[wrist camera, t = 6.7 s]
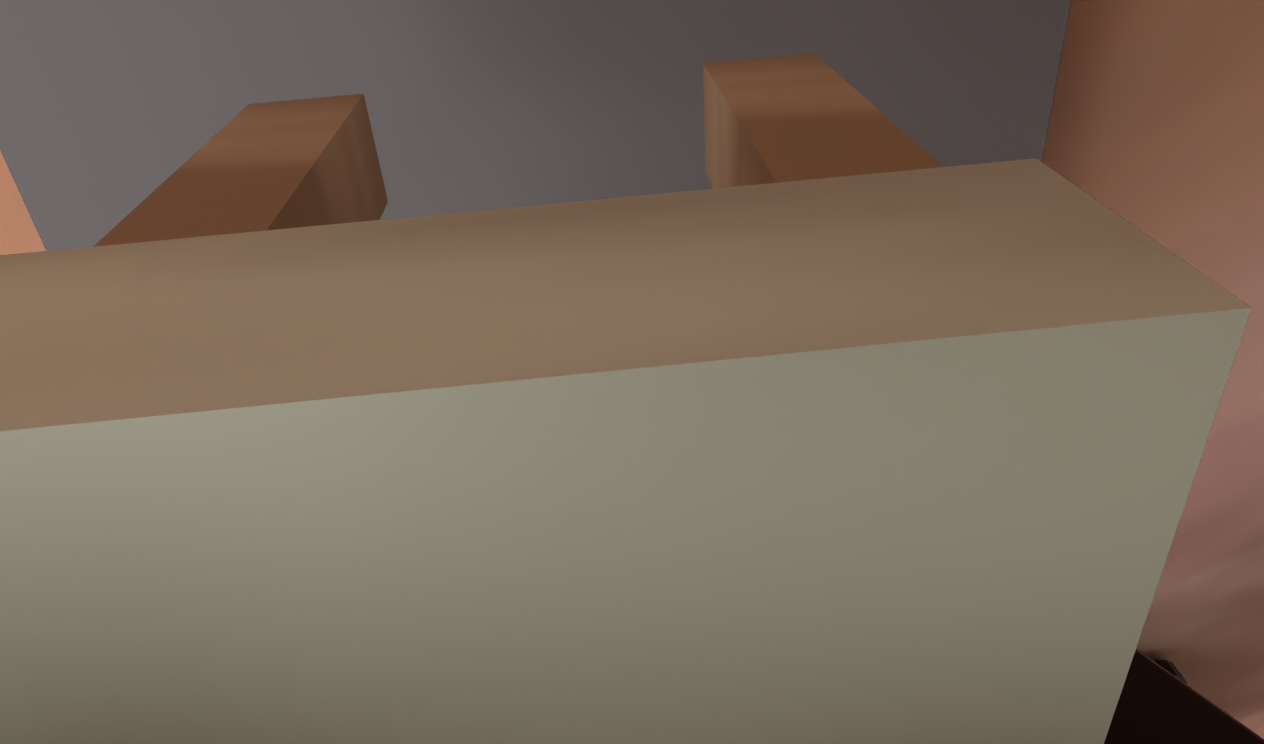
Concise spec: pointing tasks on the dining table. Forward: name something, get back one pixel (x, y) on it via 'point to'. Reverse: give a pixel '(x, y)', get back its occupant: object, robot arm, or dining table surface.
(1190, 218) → the dining table surface
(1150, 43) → the dining table surface
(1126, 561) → the stool
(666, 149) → the felt pad
